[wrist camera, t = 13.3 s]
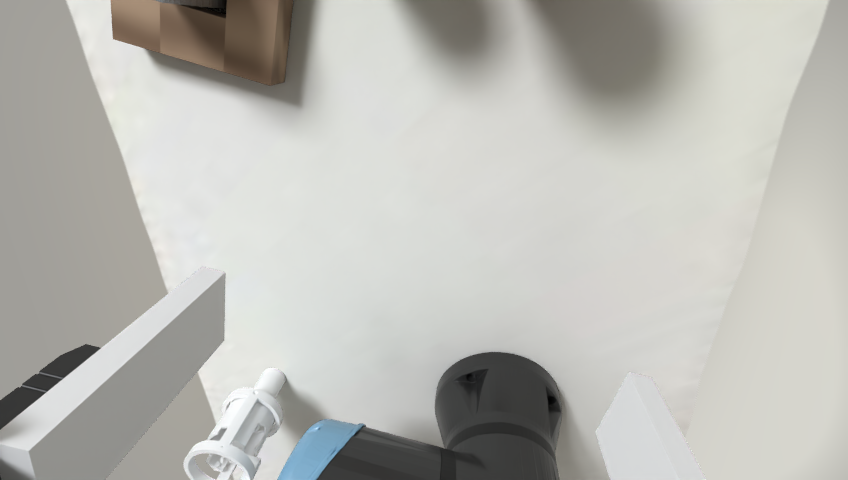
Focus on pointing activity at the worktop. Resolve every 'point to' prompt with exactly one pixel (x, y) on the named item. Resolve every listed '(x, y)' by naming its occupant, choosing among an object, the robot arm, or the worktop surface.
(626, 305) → the worktop surface
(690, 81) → the worktop surface
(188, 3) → the square peg
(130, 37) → the socket block
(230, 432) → the white tall cylindrical piece
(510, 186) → the worktop surface
